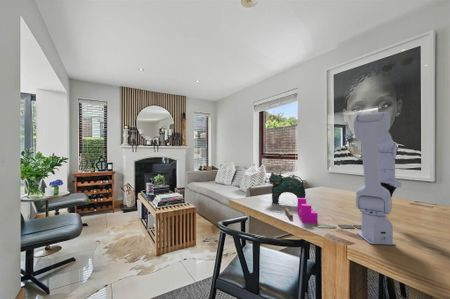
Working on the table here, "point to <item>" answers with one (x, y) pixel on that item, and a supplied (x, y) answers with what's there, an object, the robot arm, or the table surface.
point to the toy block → (306, 212)
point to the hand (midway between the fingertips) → (386, 201)
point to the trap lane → (325, 224)
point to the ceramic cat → (286, 186)
